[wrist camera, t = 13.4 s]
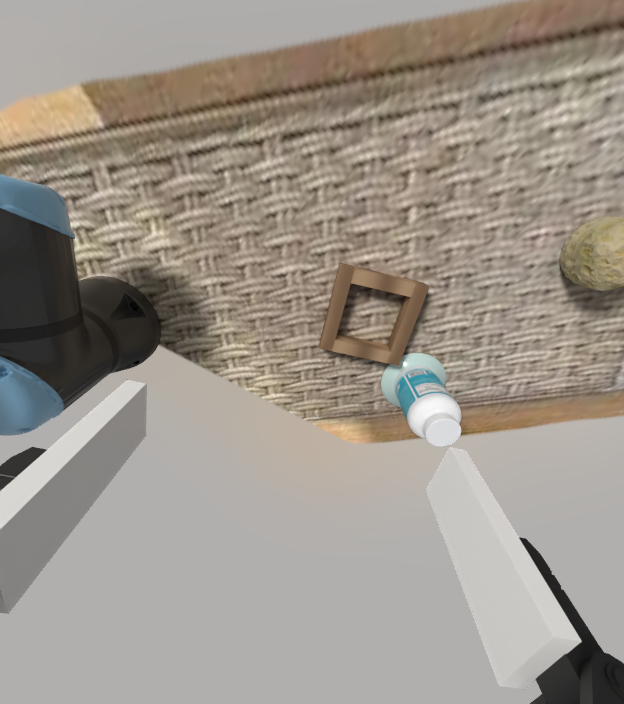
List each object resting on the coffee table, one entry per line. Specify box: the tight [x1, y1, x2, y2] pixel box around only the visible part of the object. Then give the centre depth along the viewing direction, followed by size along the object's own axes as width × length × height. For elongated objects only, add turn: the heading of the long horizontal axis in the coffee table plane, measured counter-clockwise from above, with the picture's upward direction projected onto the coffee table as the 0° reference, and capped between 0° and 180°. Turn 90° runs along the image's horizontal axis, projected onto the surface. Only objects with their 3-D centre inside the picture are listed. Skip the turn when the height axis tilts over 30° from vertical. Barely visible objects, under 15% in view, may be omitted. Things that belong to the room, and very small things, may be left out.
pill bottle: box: [394, 365, 461, 447], centre depth 47 cm, size 8×7×14 cm
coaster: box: [381, 353, 446, 408], centre depth 53 cm, size 11×11×1 cm
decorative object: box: [560, 216, 624, 291], centre depth 41 cm, size 9×10×10 cm
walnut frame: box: [320, 263, 429, 366], centre depth 47 cm, size 13×13×3 cm
